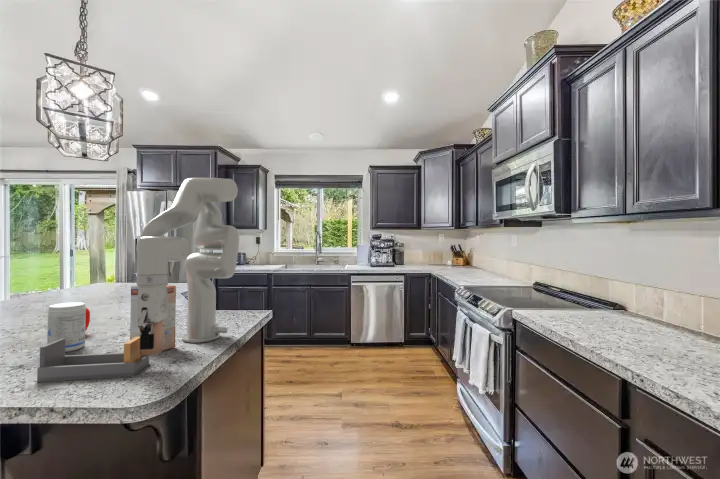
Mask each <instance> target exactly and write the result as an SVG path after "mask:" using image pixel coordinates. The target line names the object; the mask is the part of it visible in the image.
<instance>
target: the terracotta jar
mask: <svg viewBox="0 0 720 479" xmlns="http://www.w3.org/2000/svg"><path fill="white" fill-rule="evenodd" d="M146 322H151V321H150V320H146ZM146 326H148V327H150V325H146ZM152 334H154V348H153V349H144V350H141V349H140V355H149V356H153V355H158V354H161V353H163V351H162V336H163V320H161V321H160V322H158V323H154V326H153V333H152Z"/></svg>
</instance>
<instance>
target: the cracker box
mask: <svg viewBox="0 0 720 479" xmlns="http://www.w3.org/2000/svg"><path fill="white" fill-rule="evenodd" d="M130 286H131V287H130V316H129V317H130V318H129V319H130V321H129V322H130V324H129V325H130V328H129V329H130V330H129V331H130V332H129V341H130V340H131V339H133V338H135V337H140V330H139V327H138V322H137V300H138V291H139V287H137V284H136V285H130ZM176 291H177V285H169V284H168V285H167V292H168V316H167V317H166V318H165V319H163V336H162V352H164V351H167V350H170V349H173V348H176V320H177V319H176V315H177V312H176V310H177V308H176V305H177V292H176Z"/></svg>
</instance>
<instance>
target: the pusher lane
mask: <svg viewBox="0 0 720 479" xmlns="http://www.w3.org/2000/svg"><path fill="white" fill-rule="evenodd" d="M149 364H150V355H142V358H141V359H140V360H138V361H137V362H136V363H135V362H124V352H115V353H114V352H113V353H112V352H111V353H93V354H76V355H75V354H74V355H73V354H69V355H66V352H65V338H64V339H59V340H57V341H54V342H52V343H49V344H45V345H43V346H40V347H39V367H37V368H36V369H37V370H36V371H37V372H36V373H37V374H36V380H37V381H36V382H37V383H42V382H43V383H47V381H48V382H62V381H73V380H74V381H78V380H79V381H80V380H92V379H94V380H96V379H110V378H125V377H126V378H127V377H129V378H130V377H135V376H136V375H137V374H138V373H139V372H141V371H142V370H143V369H144V368H146V367H147V366H148V365H149Z"/></svg>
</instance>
